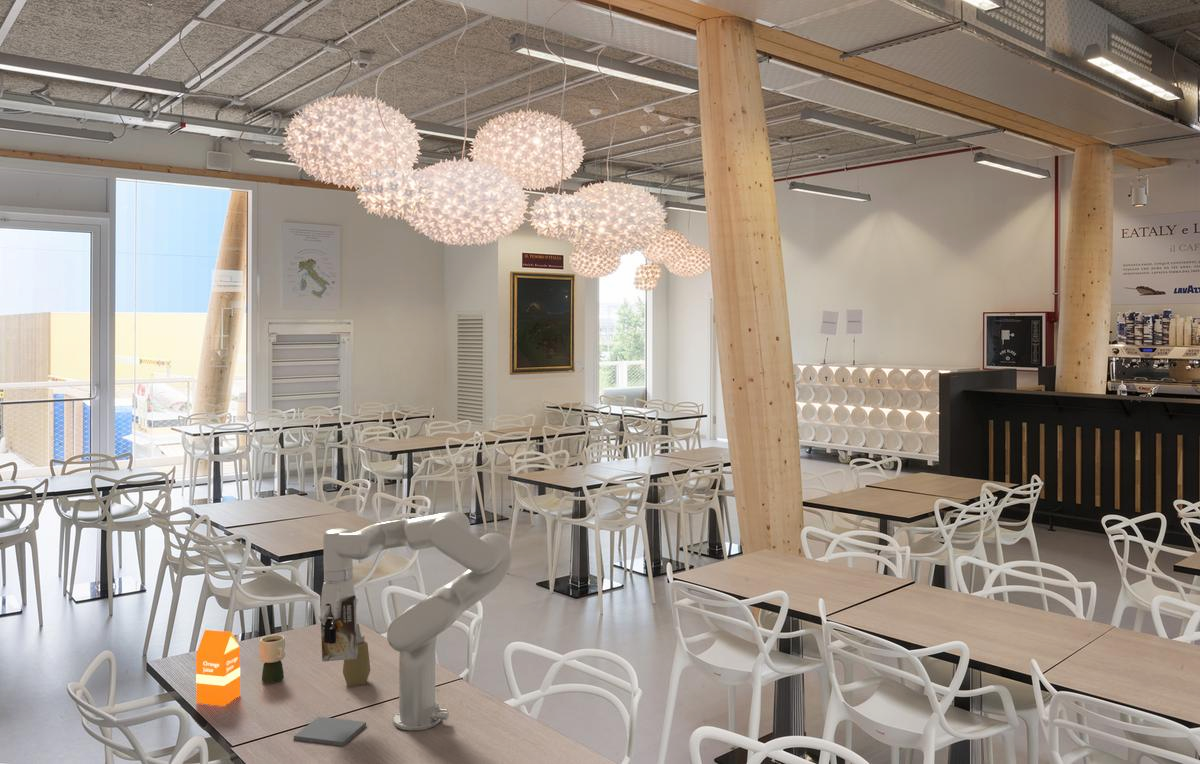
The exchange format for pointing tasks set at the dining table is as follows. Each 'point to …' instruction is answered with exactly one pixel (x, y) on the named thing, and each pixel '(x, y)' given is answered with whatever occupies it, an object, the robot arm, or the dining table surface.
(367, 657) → the squeeze bottle
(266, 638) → the character mug
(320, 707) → the dining table surface
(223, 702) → the orange juice
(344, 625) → the coffee box
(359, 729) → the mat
